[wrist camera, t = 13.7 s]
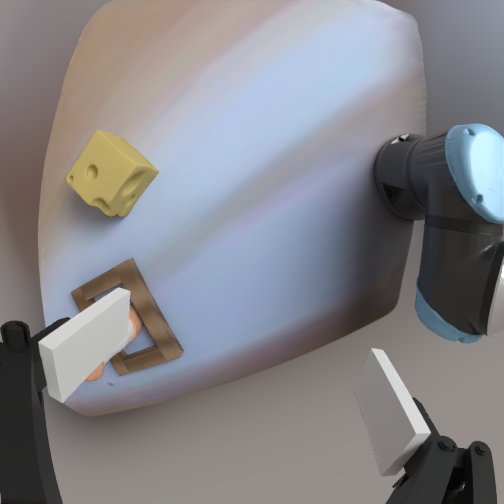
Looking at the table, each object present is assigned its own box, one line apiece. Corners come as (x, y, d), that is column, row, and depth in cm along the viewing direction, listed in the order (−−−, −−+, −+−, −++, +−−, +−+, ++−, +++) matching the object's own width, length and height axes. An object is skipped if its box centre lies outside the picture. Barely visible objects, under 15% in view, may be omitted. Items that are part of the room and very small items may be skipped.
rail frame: (183, 350, 52) (180, 357, 50) (124, 369, 54) (119, 375, 51) (132, 257, 49) (126, 260, 47) (77, 288, 51) (70, 292, 49)
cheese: (128, 216, 48) (99, 221, 38) (92, 180, 47) (60, 178, 37) (163, 170, 46) (139, 164, 36) (124, 135, 45) (95, 124, 35)
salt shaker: (124, 340, 52) (76, 393, 34) (105, 310, 51) (49, 354, 33) (150, 329, 52) (104, 385, 33) (130, 296, 50) (74, 342, 32)
